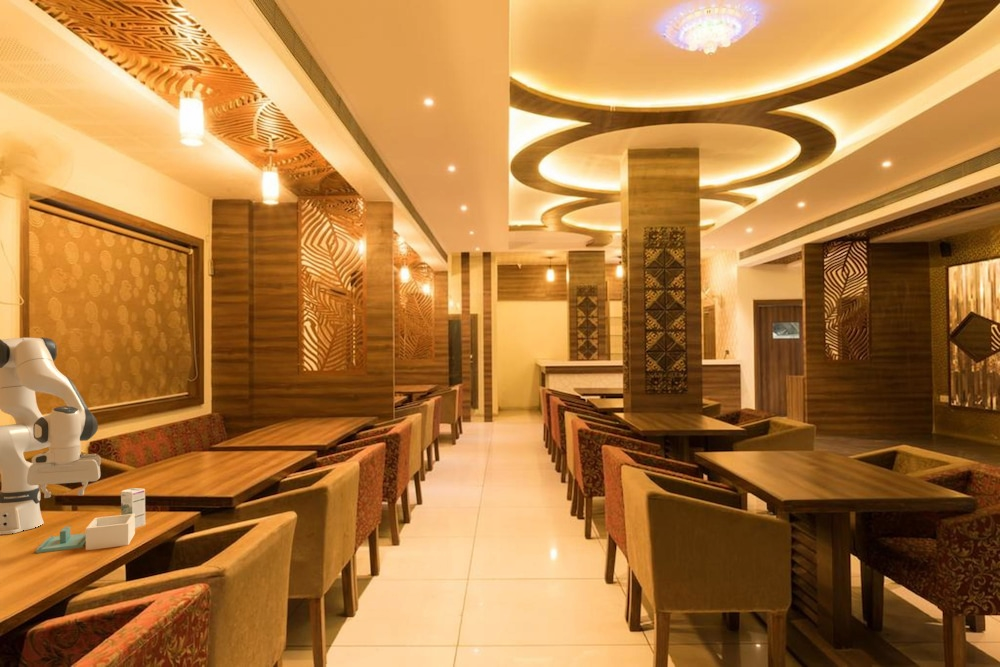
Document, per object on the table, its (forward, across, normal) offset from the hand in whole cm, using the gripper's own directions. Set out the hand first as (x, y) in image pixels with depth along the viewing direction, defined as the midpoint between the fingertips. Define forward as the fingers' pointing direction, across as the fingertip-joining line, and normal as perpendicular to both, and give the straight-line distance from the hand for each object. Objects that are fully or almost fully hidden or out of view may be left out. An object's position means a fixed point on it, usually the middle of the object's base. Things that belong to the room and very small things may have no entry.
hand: (64, 496), depth 207 cm
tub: (+17, -15, +5) cm, 23 cm away
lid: (+17, -1, +1) cm, 17 cm away
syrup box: (+17, -19, -13) cm, 29 cm away
